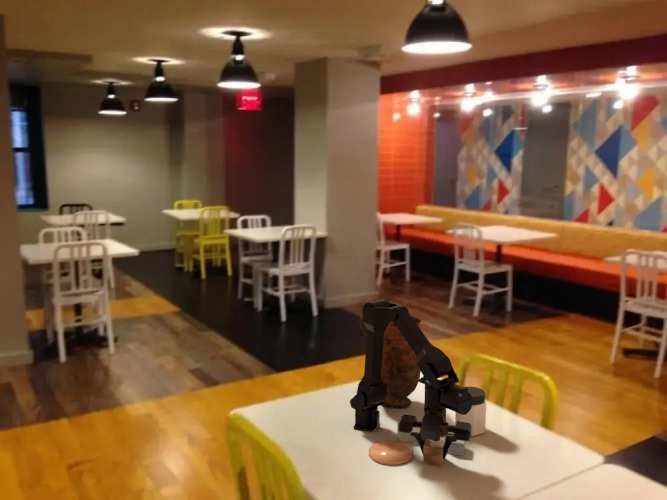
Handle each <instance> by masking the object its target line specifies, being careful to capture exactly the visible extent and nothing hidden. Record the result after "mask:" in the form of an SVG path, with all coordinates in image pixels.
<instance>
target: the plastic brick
mask: <svg viewBox="0 0 667 500" xmlns="http://www.w3.org/2000/svg"><path fill="white" fill-rule="evenodd" d="M465 449H466V441H461V440H457V441H456V442H452V443H451V445H450V447H449V449H448V454H449V455H450V454H452V455H459V456H464V455H465Z"/></svg>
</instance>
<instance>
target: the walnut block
mask: <svg viewBox="0 0 667 500" xmlns="http://www.w3.org/2000/svg"><path fill="white" fill-rule="evenodd" d="M444 446H445V439H444V440H442V439H440V440H439V441H433V440H426V441H425V444H424V446H423V454H422V457H423V458H422V465H428V466H434V467H440V468H441V467H443V464H444V461H445V459H443V452H444Z"/></svg>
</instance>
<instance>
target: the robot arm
mask: <svg viewBox="0 0 667 500" xmlns="http://www.w3.org/2000/svg"><path fill="white" fill-rule="evenodd" d="M361 313H362V315H361V316H362V317H363V320H362V324H364V327H365V328H366V333H367V338H366V344H365V358H364V371H363V376H362V377H361V379H360V381H359V382H358V384H357V388H356V389H357V390H356V394H354V396H353V397H352V398H351V399H350V400H349V403H350V407H351V408H352V409H354V412H355V413H354V414H355V415H354V417H355V418H354V420H355V421H354V422H355V423H354V425H353V429H355V430H362V431H370V432H375V430H377V428H378V427H379V425H380V415H381V414H380V410H379V406H382V403H383V400H384V399H385V396H387V384H386V383H384V381H383V380H382V378H381V368H382V356H383V343H384V332H385V329H386V328H387V326H388V325H389V323H390V321H393V322H394V324H395V325H396V327H397V328H398V330H399V331H400V332H401V334H402V335H403V337H404V338H405V340H406V341H407V342H408V344H409V345H410V347H411V348H412V350H413V351H414V353H415V354H416V356H417V365H418V367H419V369H420V371H421V374H422V377H420V379H419V382H418V383H421V384H423V385H424V401H423V402H424V404H423V405H424V407H423V408H424V409H423V410H424V411H423V415H422V419H421V420H418V416H417V415H412V414H403V415H402V416H401V418H400V419H399V421H398V423H399V424H398V423H397V424H398V431H399V432H404V433H410V432H411V433H410V435H411V436H414V437H415V440H416V441H417V443H418V445H419V449H420V451H421V453H422V455H423V446H424V444H425V440H433V441H439V440H441V438H443V437H445V439H444V441H445V446H444V452H443V459H444V460H445V459H446V457H447V455H448V453H449V447H450V445H451V443H452V442H456V441H457V440H461V441H465V442H469V441H470V439H471V430H472V426H471V424H470V423H467V422H459V421H457V422H456V425H455V424H449V422H447V409H448V410H450V411H452V412H455V413H456V412H457V413H459V414H462V415H466V414H467V413H468V412H469V411H470V410H471V408H472V405H473V399H472V395H471V394H470V393H468V388H467V387H468V386H464V385H463V386H462V385H459V384H457V383H460V379H459V377H458V376H457V373H456V371H455V369H454V367H453V365H452V362H451V359H450V358H449V357H448V356H447V354H446V353H445V352H444V351H443V350H442V349H440V348H439V347H437V346H434V345H433V344H432V343H431V342H430V340H429V339H428V338H427V336H426V335H425V334H424V332H423V331H422V330H421V328H420V326H418V325H417V324H416V322H415V321H414V320H413V318H412V317H411V314H410V313H409V309H408V307H407V306H405V305H402V304H398V303H397V302H389V301H388V299H378V300H373V301H369V302H366V303H365V304H363V306H362V309H361ZM446 376H447V377H446ZM443 377H445V378H443ZM440 378H441V379H440ZM351 408H350V409H351Z"/></svg>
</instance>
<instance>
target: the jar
mask: <svg viewBox="0 0 667 500" xmlns="http://www.w3.org/2000/svg"><path fill="white" fill-rule="evenodd" d="M466 387H467V388H468V393H470V394H471V395H472V399H473V405H472V408H471V410H470V411H469V412H468V413H467V414H466V415H462V414H459V413H457V412H455V424H454V425H456V422H457V421H459V422H467V423H470V424H471V426H472V430H471V436H472V437H475V436H476V437H477V436H479V435H481V434H484V433H486V420H487V419H486V417H487V416H486V414H487V402H486V391H485V390H484V389H482V388H480V387H476V386H466ZM471 436H470V437H471Z"/></svg>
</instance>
